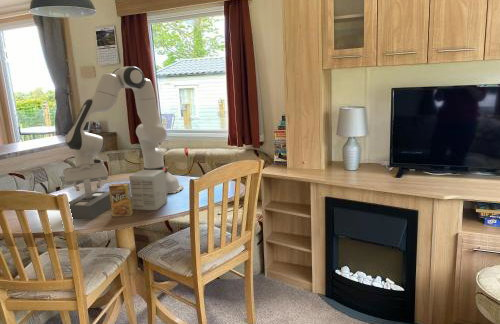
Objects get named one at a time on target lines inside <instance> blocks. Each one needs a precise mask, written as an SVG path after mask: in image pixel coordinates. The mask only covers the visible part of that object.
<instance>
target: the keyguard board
mask: <svg viewBox="0 0 500 324" xmlns="http://www.w3.org/2000/svg"><path fill="white" fill-rule="evenodd" d="M95 193H103V194H101V195H100V196H92V197H93V200H86V195H85V193H83V194H82V195H80V196H78V197H76V198H73V199H72V200H70V201H68V202H69V204H70V209H71V213H72V217H73V219H72V220H77V221H78V220H80V221H81V220H83V221H85V220H87V221H92V220H94V219H95V218H97V217H98V216H100V215H101V214H103V213H104V212H106V211H107V210H110V209H111V200H110V192H109V191H92V195H93V194H95ZM78 202H87V203H86V204H84V205H75V204H77V203H78Z"/></svg>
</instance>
